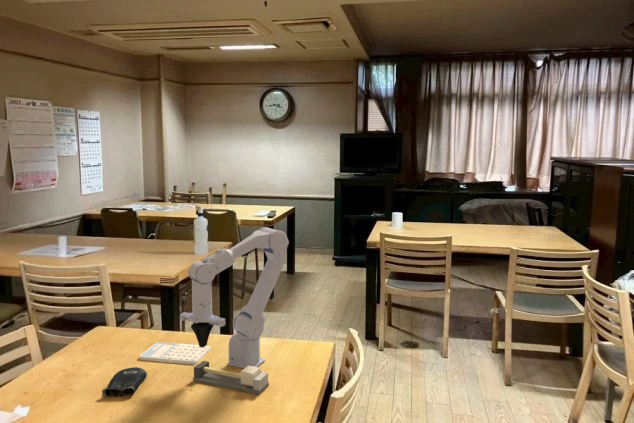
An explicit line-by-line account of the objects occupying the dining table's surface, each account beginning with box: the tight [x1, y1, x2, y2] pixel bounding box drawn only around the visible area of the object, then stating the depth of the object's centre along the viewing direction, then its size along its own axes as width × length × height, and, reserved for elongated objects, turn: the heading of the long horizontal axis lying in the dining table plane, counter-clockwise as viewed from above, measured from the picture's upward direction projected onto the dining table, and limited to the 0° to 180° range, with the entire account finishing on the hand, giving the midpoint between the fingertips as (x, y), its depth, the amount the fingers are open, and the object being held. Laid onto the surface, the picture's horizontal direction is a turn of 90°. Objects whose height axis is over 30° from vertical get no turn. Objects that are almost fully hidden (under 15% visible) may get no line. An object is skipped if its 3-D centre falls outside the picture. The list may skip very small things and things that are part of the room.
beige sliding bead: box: [240, 365, 261, 387], centre depth 147 cm, size 4×4×4 cm
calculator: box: [138, 341, 211, 366], centre depth 170 cm, size 13×20×2 cm, turn 80°
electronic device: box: [101, 366, 148, 398], centre depth 148 cm, size 9×6×15 cm
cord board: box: [192, 360, 270, 396], centre depth 150 cm, size 22×6×4 cm, turn 68°
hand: (203, 346), depth 153 cm, fingers closed
